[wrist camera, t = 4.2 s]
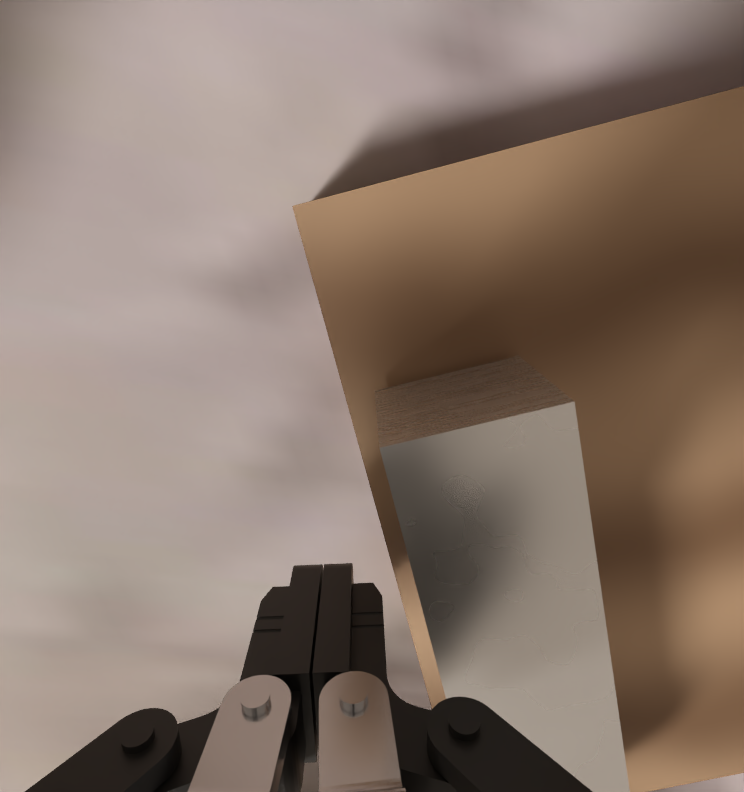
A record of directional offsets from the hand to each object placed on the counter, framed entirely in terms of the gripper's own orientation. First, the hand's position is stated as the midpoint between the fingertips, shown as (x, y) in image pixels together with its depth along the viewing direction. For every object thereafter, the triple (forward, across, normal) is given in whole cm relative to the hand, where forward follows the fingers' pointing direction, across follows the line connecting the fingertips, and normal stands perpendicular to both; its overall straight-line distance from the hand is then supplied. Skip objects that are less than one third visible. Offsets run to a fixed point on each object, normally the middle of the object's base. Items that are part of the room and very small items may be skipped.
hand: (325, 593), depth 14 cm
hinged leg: (+1, -5, +2) cm, 5 cm away
